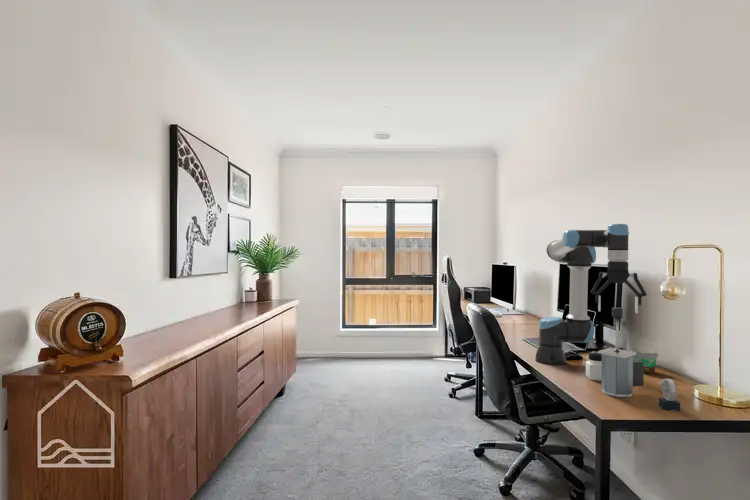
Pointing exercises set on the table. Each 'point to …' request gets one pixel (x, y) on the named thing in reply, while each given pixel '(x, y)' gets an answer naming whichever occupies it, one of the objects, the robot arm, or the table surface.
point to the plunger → (617, 324)
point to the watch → (669, 395)
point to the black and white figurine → (594, 366)
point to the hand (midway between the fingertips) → (617, 312)
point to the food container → (646, 361)
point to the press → (620, 372)
